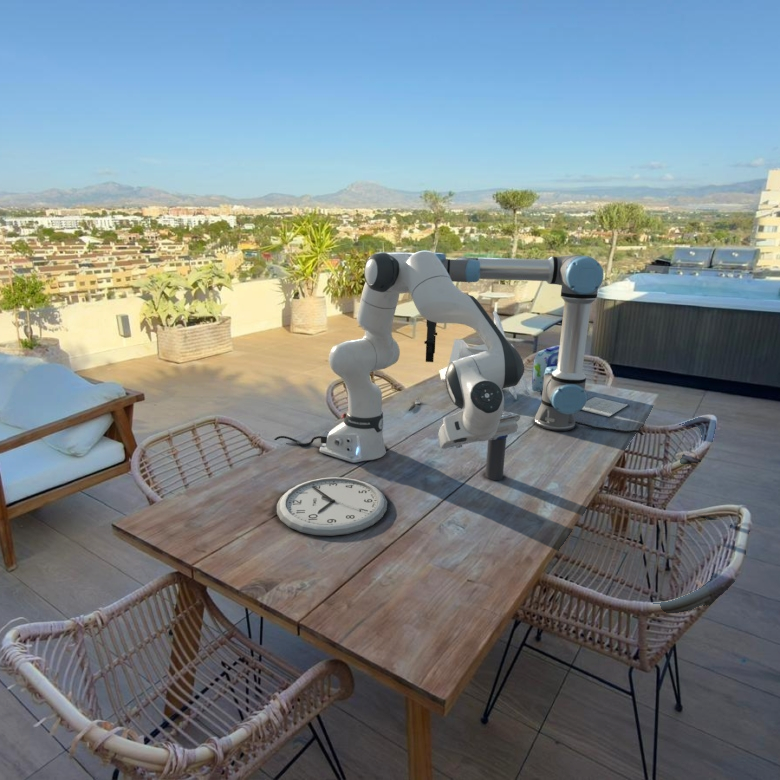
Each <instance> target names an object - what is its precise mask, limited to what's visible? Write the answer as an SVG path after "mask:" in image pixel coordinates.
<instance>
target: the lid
mask: <svg viewBox="0 0 780 780" xmlns="http://www.w3.org/2000/svg"><path fill="white" fill-rule="evenodd" d="M505 438H506V439H507V438H508V435H504V436H500V437H498V438H497V439H505Z"/></svg>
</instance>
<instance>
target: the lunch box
mask: <svg viewBox="0 0 780 780" xmlns="http://www.w3.org/2000/svg"><path fill="white" fill-rule="evenodd" d="M559 346H560V344H559V345H553V346H550V347H546V348H545V349H542V350H539V351H538V352H537V353H536V354H535V356H534V358H533V365H532V376H531V377H532V378H531V390H532V391H533V392H537V393H542V392H543V382H544V373H545V369H546V368H547V367H553V366H557V364H558V355H559Z"/></svg>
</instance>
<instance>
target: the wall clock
mask: <svg viewBox="0 0 780 780" xmlns="http://www.w3.org/2000/svg"><path fill="white" fill-rule="evenodd" d="M387 509H388V500H387V498H386V496H385V494H384V493H383V492H382V491H381V490H380V489H379V488H377V487H376V486H374V485H372V484H371V483H369V482H365V481H362V480H359V479H355V478H349V477H338V476H337V477H335V476H333V477H332V476H331V477H322V478H317V479H312V480H307V481H305V482H302V483H299V484H297V485H295V486H293V487H292V488H290V489H288V490H287V491H286V492H285V493H284V494H283V495H281V496H280V498H279V499H278V502H277V503H276V515H277V517H278V518H279V520H280V521H281V522H282V523H283V524H285V525H286V526H287V527H288V528H290V529H293V530H295V531H297V532H299V533H303V534H308V535H312V536H327V537H328V536H329V537H331V536H332V537H333V536H342V535H350V534H352V533H356V532H361V531H363V530H366V529H368V528H369V527H372V526H373V525H375V524H376V523H378V522H379V521H380V520H381V519H382V518H383V517H384V516H385V514H386V512H387Z"/></svg>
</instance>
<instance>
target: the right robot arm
mask: <svg viewBox="0 0 780 780" xmlns="http://www.w3.org/2000/svg"><path fill="white" fill-rule="evenodd" d="M433 253H434V254H435V255H436V256H437V257H438V258H439V260H440V261H441V262H442V264H443V265H444V267H445V269H446V270H447V272H448V274H449V276H450V278H451V280H452V282H453V283H454V282H457V283H468V284H470V283H477V282H479V281H480V280H495V281H497V280H499V281H500V280H501V281H526V282H527V281H531V282H546V283H547V284H548V285H557V286H561V289H560V298H561V299H562V300H563V303H564V305H563V313H562V322H561V330H560V339H559V355H558V364H557V366H553V367H547V368H546V369H545V373H544V382H543V392H542V394H541V402H540V405H539V407H538V410H537V411H536V413H535V416H534V424H535V425H536V426H537V427H539V428H542V429H544V430H549V431H556V432H567V431H572V430H574V429H575V428H576V425H579V426H584V427H587V428H590V429H595V430H603V431H611V432H616V433H617V432H618V433H622V434H631V433H637V434H640V436H645V434H644V433H643V432H642V431H641V430H638V429H631V430H624V429H619V428H611V427H603V426H597V425H591V424H588V423H585V422H581V421H576V418H575V417H576V416H575V414H576V413H579V412H580V411H582V410H581V409H582V408H583V407H584V406H585V404H586V401H588V397H587V392H586V389H585V388H586V383H587V382H586V381H587V375H586V374H585V373H584V371H583V369H584V361H585V355H586V347H587V339H588V338H587V337H588V330H589V324H590V318H591V317H590V316H591V308H592V303H593V302H594V301H596V300H597V298H598V294H599V293H598V291H599V288H601V285H602V284H603V281H604V269H603V267H602V265H601V264H600V262H599V261H597V260H596V259H595V258H594V257H592V256H587V255H581V254H574V255H573V254H572V255H565V256H551V257H549V258H548V259H545V258H544V259H543V258H542V259H541V258H540V259H539V258H501V257H500V258H497V257H496V258H495V257H494V258H492V257H466V256H460V257H457V258H455V259H451V258H449V259H448V258H447V257H446V253H444V252H433ZM425 320H426V340H424V342H423V343H424V344H425V362H426V363H434V359H435V357H434V356H435V353H436V338H437V337H436V336H438V332H437V329H436V328H437V324H438V323H436V322H432V321H429V320H427V319H425Z"/></svg>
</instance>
